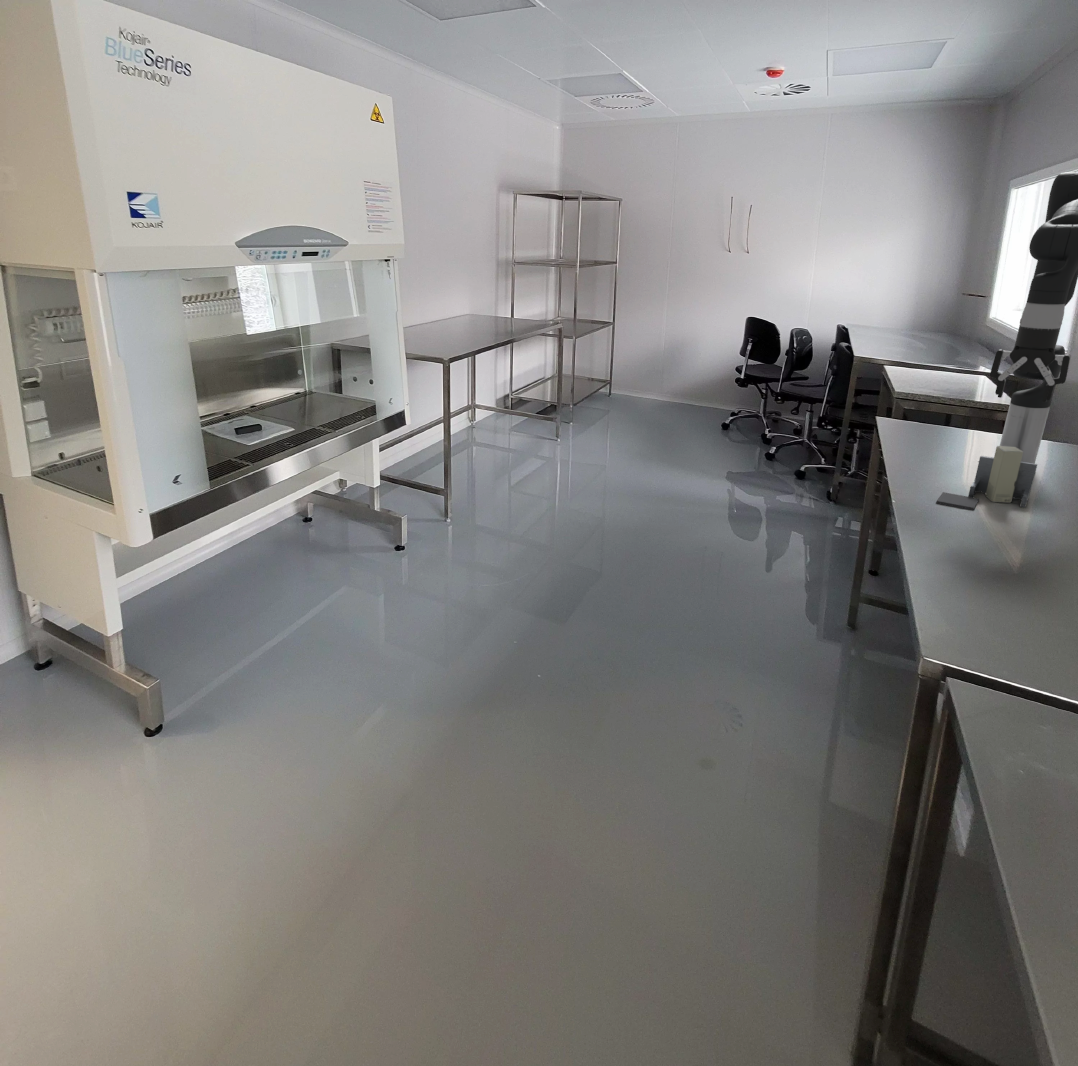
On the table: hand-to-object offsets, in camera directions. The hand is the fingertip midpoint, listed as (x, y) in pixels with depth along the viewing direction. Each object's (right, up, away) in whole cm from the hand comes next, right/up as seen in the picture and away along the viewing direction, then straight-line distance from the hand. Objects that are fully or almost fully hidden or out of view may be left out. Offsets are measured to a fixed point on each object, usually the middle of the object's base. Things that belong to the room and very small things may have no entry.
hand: (1021, 399), depth 165 cm
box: (+4, -22, +15) cm, 27 cm away
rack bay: (+4, -22, +15) cm, 27 cm away
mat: (-7, -23, +13) cm, 27 cm away
